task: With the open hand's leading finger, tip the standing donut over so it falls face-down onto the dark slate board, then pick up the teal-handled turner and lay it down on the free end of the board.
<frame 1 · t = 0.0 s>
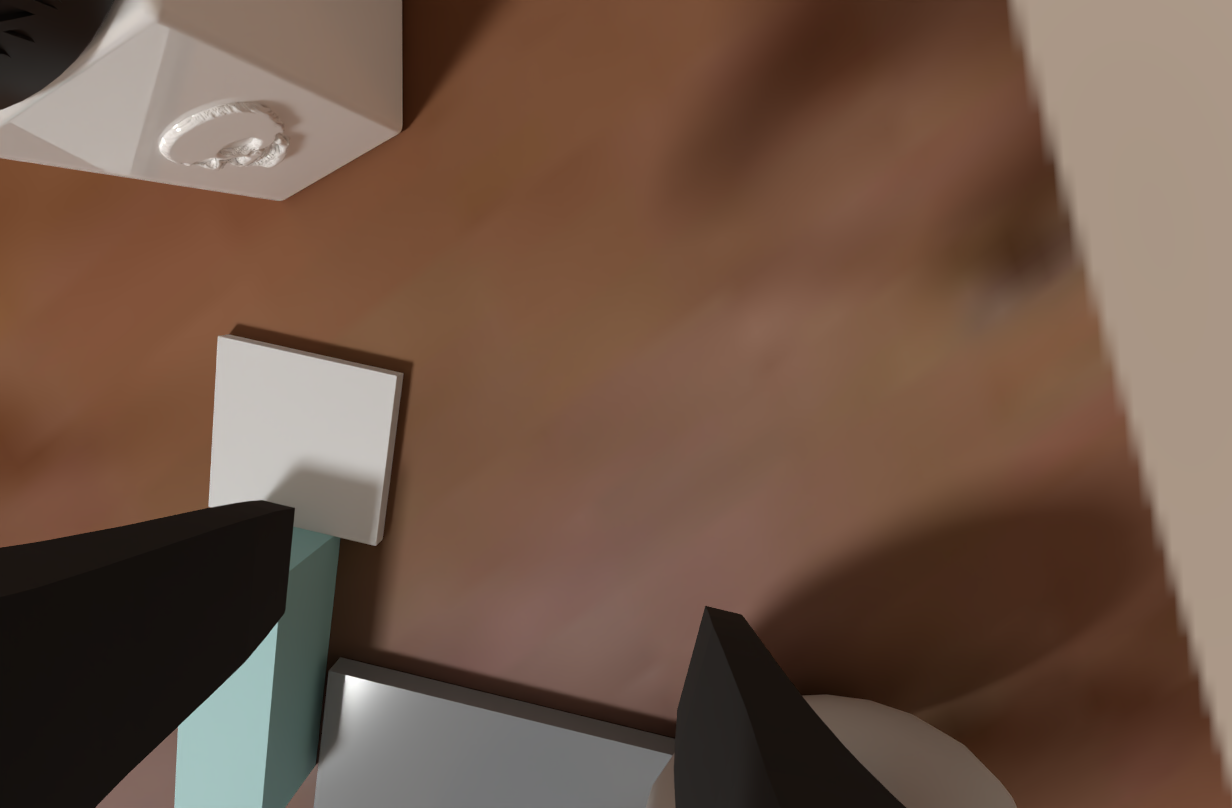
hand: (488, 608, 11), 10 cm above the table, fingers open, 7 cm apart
donut: (785, 715, 22), on the table, touching slate board
turner: (290, 642, 23), on the table
jar: (281, 46, 19), on the table
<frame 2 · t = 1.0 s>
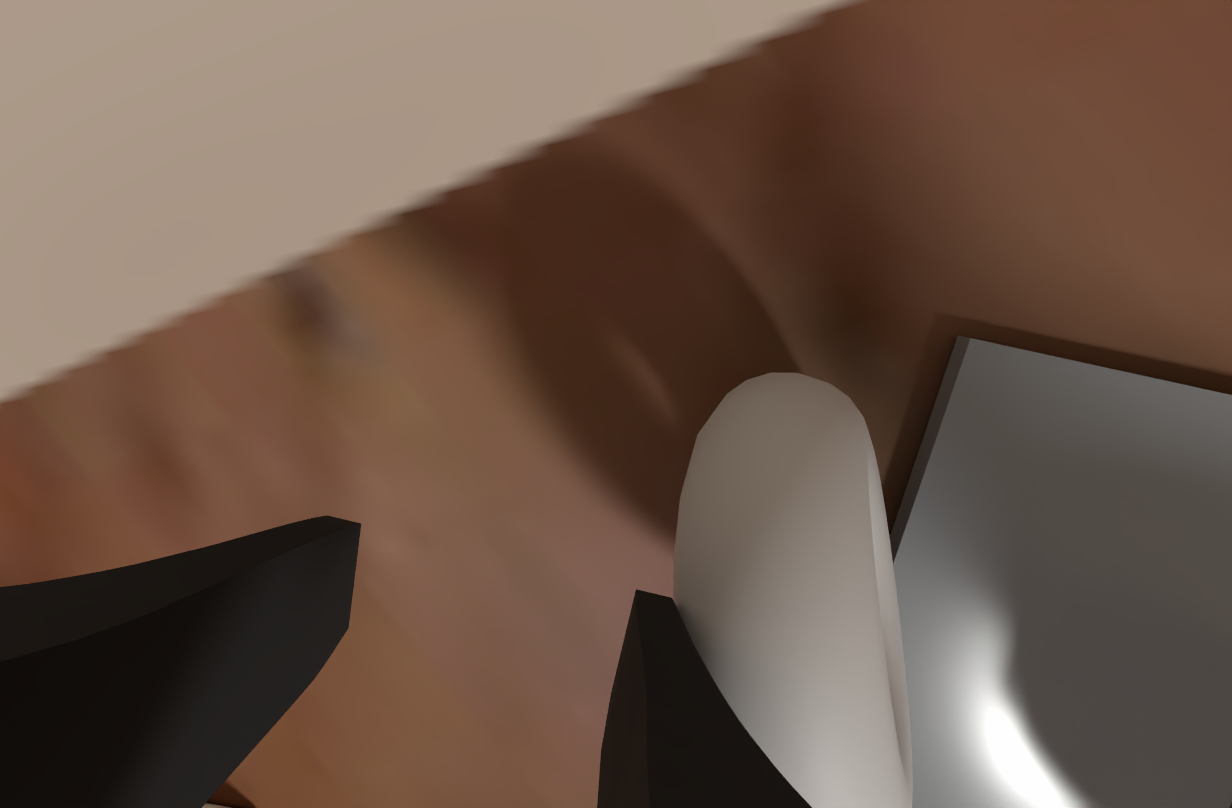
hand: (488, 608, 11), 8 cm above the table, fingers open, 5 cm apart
donut: (824, 524, 18), on the table, touching gripper
slate board: (1021, 731, 19), on the table
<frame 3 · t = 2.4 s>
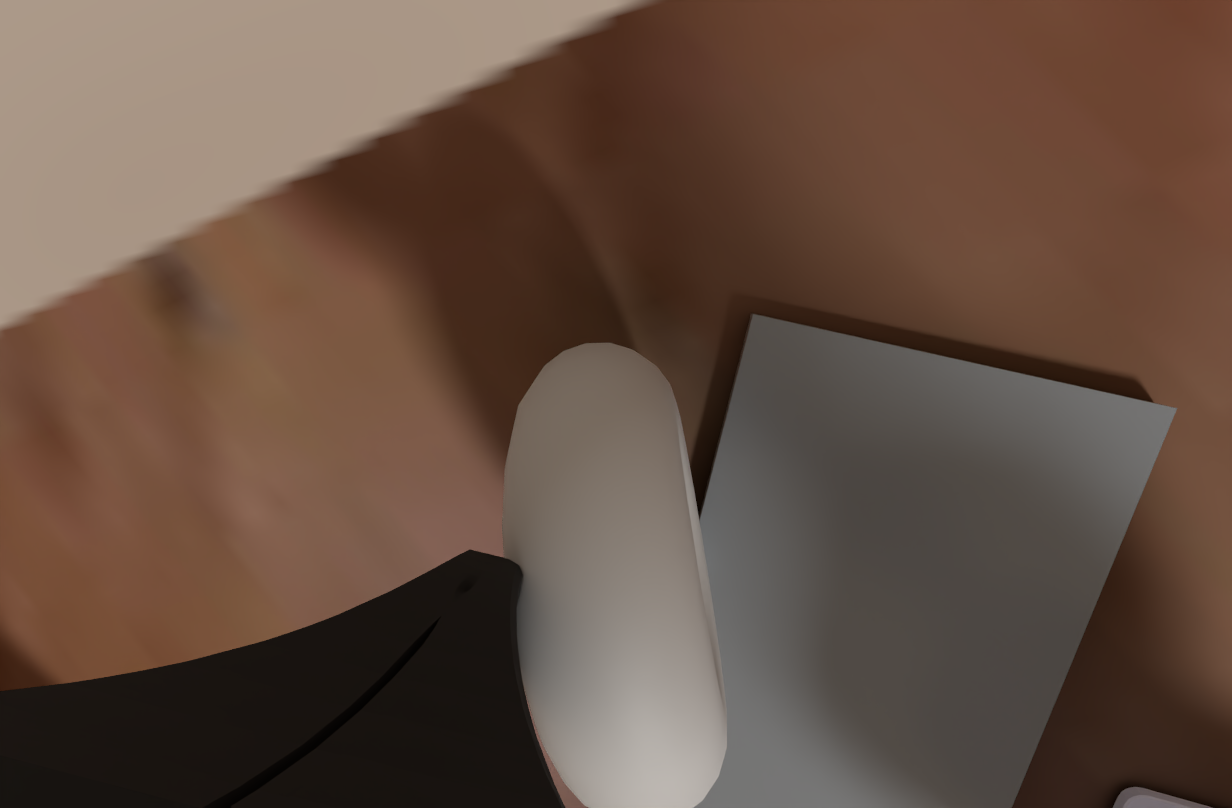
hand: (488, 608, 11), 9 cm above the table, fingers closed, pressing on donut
donut: (637, 491, 19), on the table, touching gripper, slate board
slate board: (835, 696, 20), on the table
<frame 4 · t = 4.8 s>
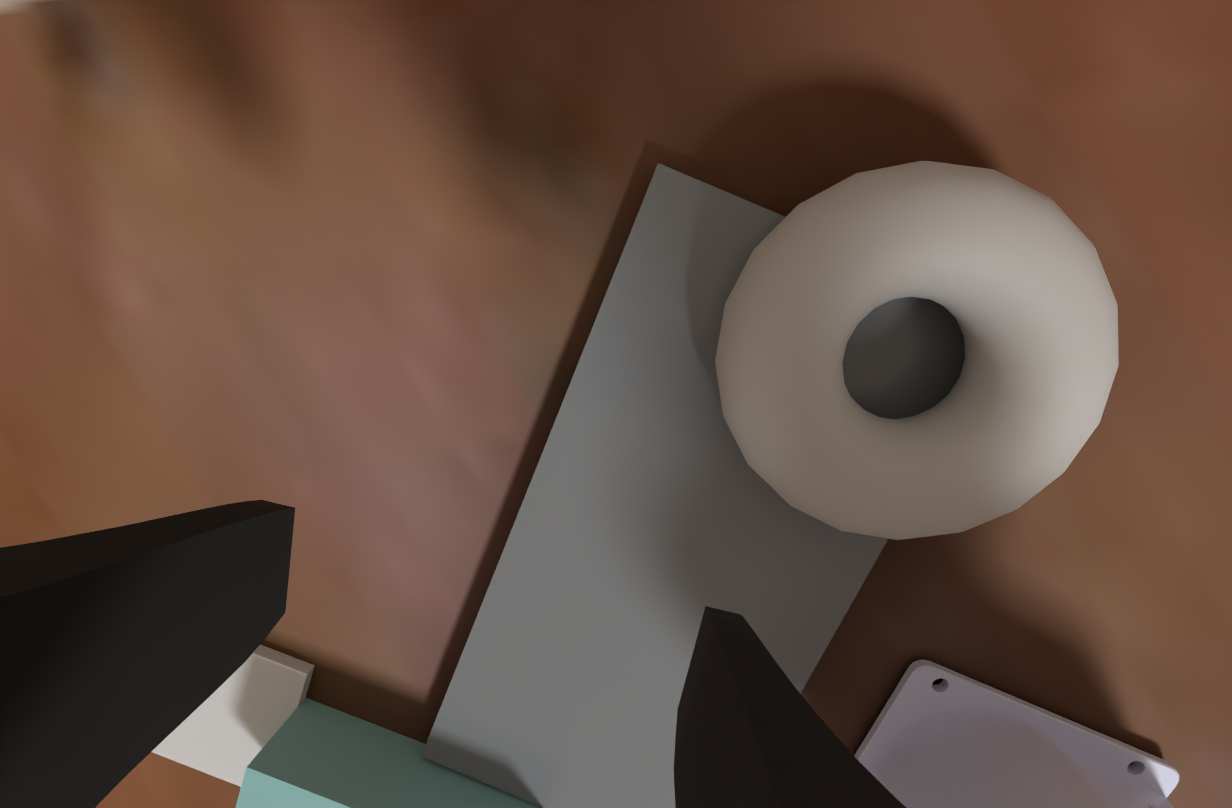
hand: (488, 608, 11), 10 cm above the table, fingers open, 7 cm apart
donut: (718, 301, 17), point 3 cm above the table, touching slate board
turner: (418, 773, 24), on the table
slate board: (680, 552, 21), on the table
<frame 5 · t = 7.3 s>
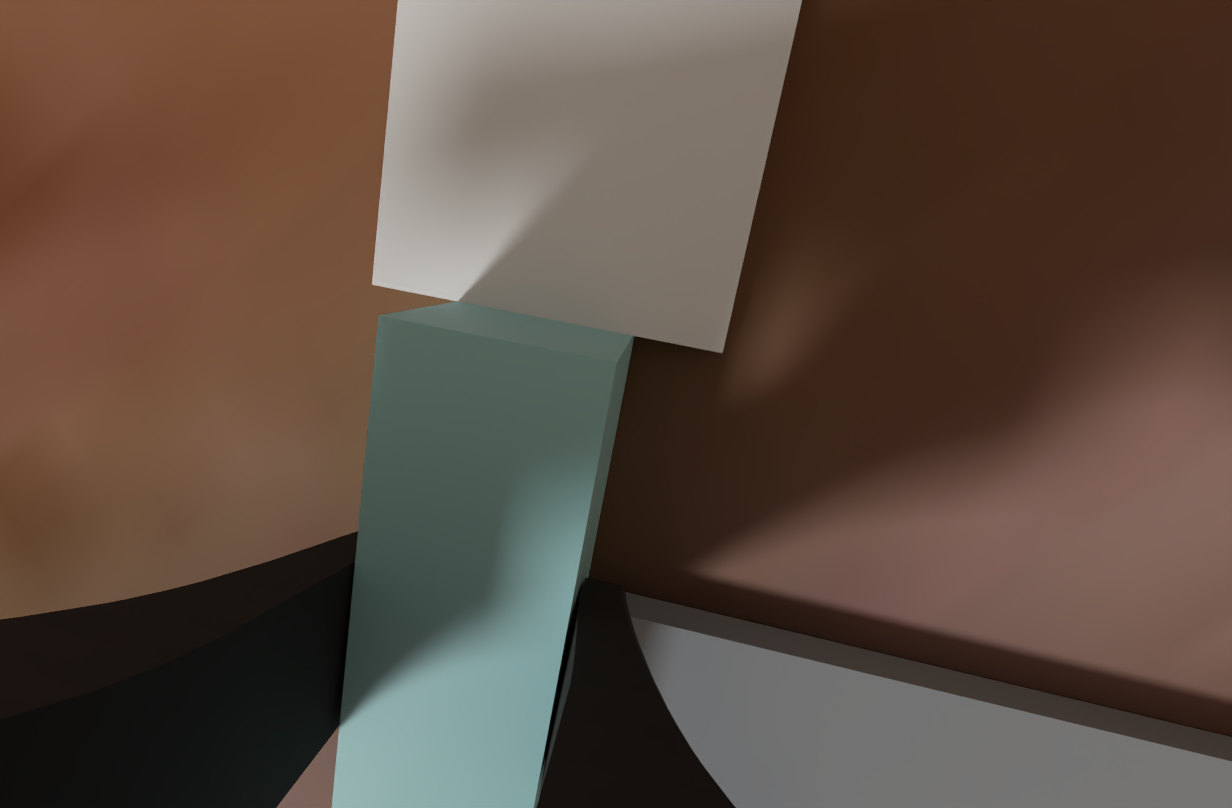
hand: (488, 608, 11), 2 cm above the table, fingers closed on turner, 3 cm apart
turner: (511, 569, 12), on the table, touching gripper
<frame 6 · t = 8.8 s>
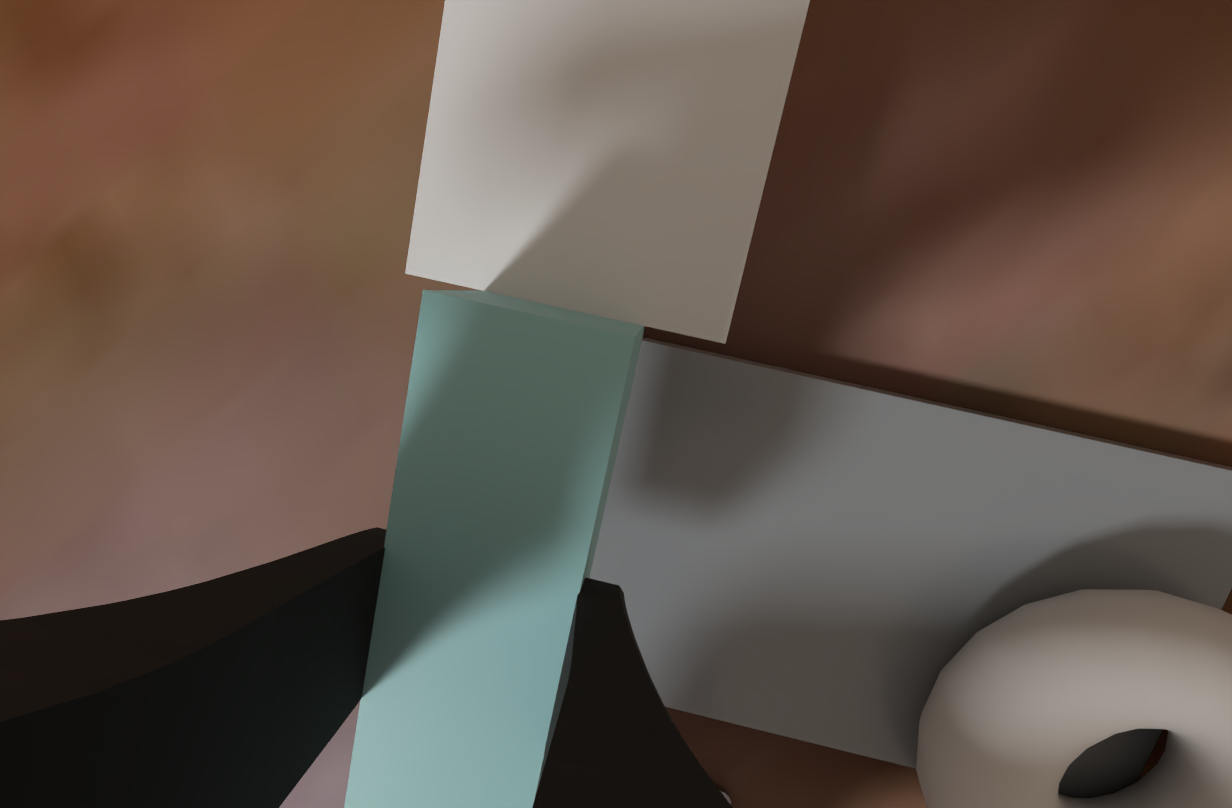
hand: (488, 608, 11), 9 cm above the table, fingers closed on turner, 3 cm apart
donut: (1178, 592, 16), point 3 cm above the table, touching slate board
turner: (521, 547, 13), point 6 cm above the table, touching gripper
slate board: (803, 559, 19), on the table
when the fingers open (3 cm above the table, at t = 10.1 s): turner stays where it is, resting on slate board.
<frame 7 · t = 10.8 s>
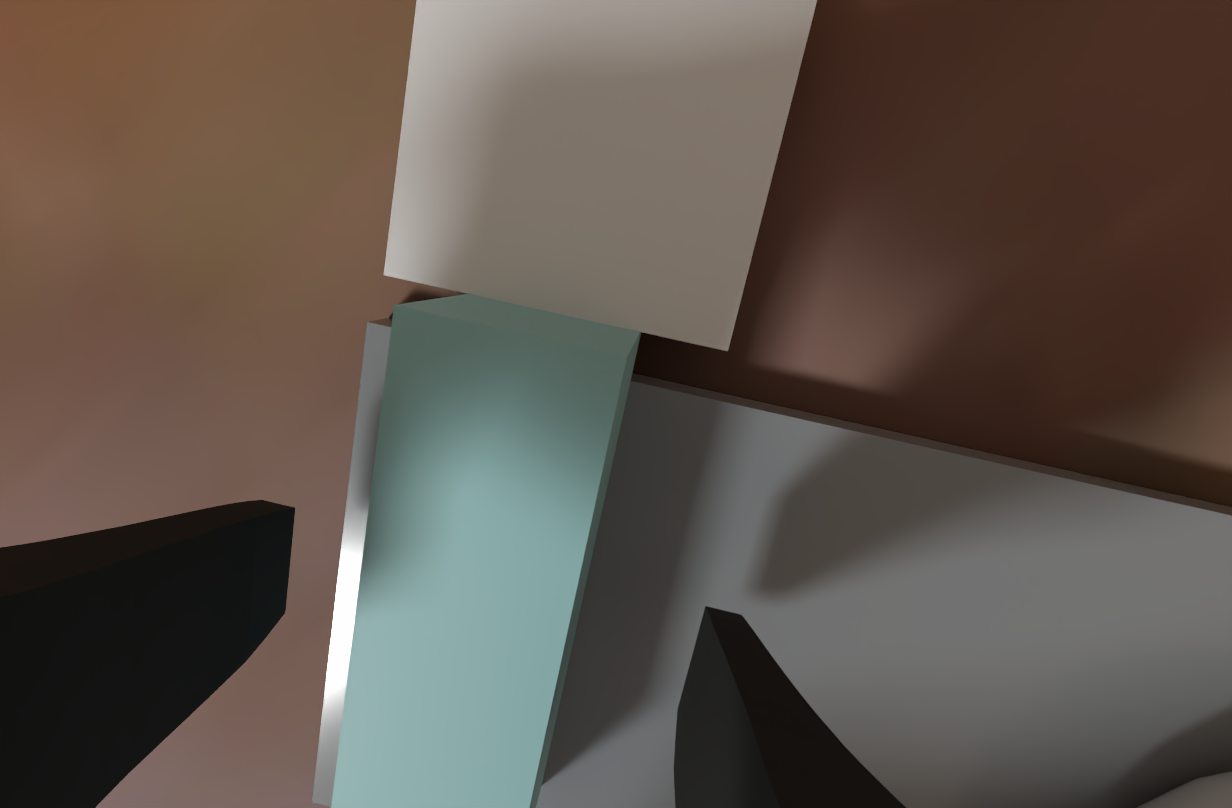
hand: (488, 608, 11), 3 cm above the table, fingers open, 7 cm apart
turner: (513, 560, 12), point 1 cm above the table, touching slate board
slate board: (859, 689, 13), on the table
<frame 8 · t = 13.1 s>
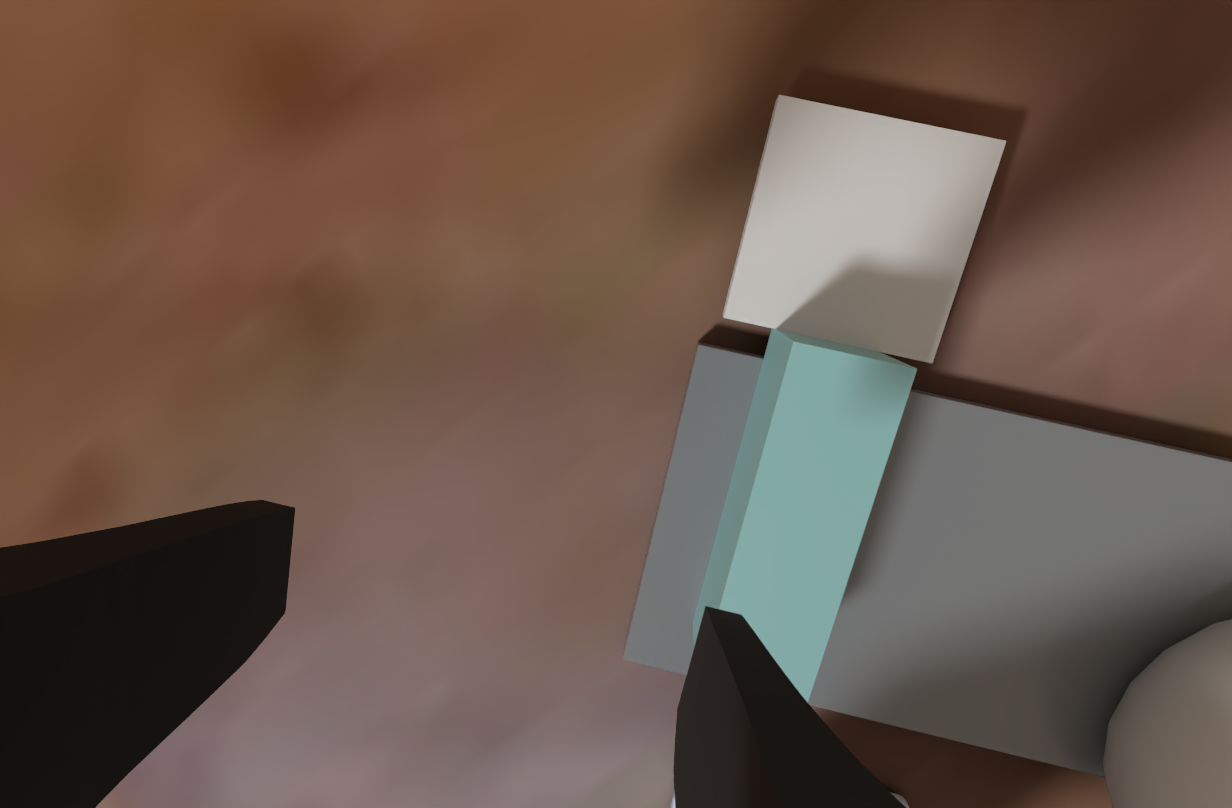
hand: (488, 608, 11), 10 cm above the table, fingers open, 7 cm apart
turner: (777, 494, 20), point 1 cm above the table, touching slate board
slate board: (990, 579, 21), on the table
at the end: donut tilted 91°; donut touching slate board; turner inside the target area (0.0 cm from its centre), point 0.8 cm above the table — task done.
